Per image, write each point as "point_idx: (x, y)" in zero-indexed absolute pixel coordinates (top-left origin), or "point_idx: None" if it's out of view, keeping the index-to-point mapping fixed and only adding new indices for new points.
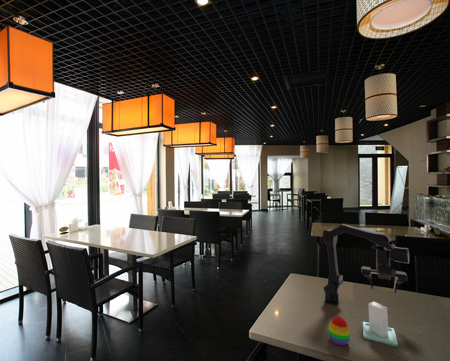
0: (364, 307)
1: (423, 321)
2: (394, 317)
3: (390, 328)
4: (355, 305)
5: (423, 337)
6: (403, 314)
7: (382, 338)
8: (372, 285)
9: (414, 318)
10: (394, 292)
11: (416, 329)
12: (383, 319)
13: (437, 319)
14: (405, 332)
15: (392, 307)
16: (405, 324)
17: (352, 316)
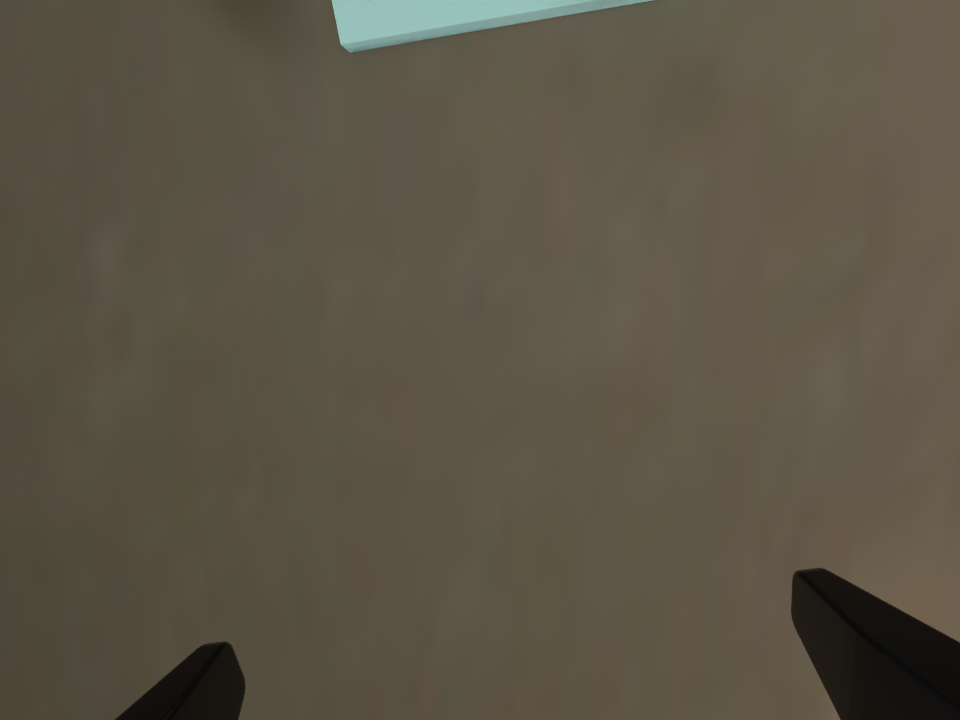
0: (705, 493)
1: (125, 526)
2: (384, 442)
3: (379, 14)
4: (808, 483)
5: (43, 129)
6: (312, 566)
7: None
8: (915, 662)
9: (207, 541)
10: (212, 653)
11: (144, 292)
12: None
13: (33, 641)
14: (229, 122)
15: (426, 657)
16: (261, 342)
17: (861, 142)
